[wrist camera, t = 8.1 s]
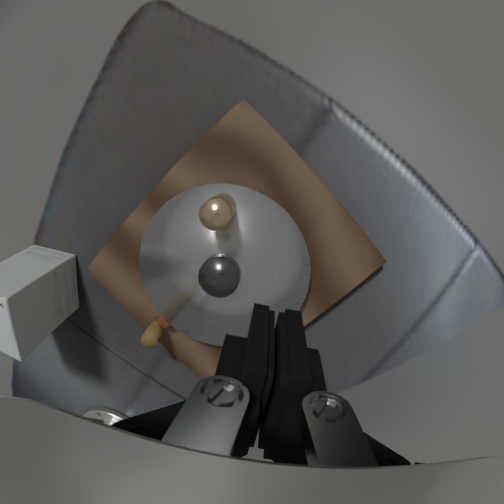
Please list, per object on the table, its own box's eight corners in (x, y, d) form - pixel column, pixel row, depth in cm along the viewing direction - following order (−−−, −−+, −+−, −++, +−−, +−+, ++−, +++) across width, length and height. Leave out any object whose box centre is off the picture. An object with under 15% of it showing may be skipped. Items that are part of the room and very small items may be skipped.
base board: (215, 380, 37) (207, 410, 32) (93, 263, 34) (68, 281, 29) (382, 256, 31) (399, 276, 26) (245, 100, 27) (238, 90, 22)
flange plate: (343, 276, 30) (353, 298, 25) (217, 368, 34) (209, 396, 30) (226, 144, 27) (216, 143, 23) (110, 264, 31) (88, 281, 27)
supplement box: (33, 242, 34) (-37, 279, 22) (77, 254, 34) (7, 299, 22) (38, 294, 36) (-22, 340, 24) (80, 309, 36) (21, 364, 24)
